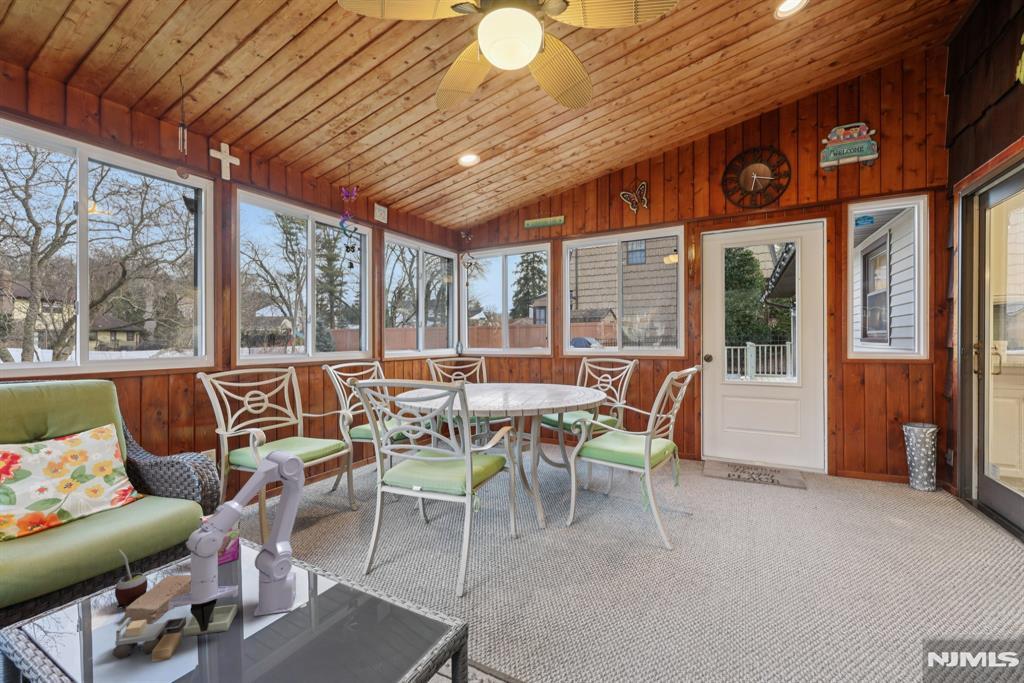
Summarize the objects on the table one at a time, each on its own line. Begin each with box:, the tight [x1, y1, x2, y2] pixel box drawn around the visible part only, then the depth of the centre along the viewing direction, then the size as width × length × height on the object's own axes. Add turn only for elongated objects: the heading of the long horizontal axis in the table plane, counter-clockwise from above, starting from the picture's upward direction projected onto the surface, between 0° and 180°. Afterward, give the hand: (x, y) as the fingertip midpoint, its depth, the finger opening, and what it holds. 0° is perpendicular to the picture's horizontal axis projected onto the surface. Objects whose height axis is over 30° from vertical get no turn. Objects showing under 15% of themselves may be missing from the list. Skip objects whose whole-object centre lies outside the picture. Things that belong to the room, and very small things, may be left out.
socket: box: [164, 616, 187, 634], centre depth 117 cm, size 4×4×2 cm
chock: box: [151, 631, 182, 663], centre depth 109 cm, size 4×6×3 cm, turn 15°
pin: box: [209, 609, 214, 624], centre depth 119 cm, size 3×3×7 cm
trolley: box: [112, 617, 167, 660], centre depth 110 cm, size 9×5×7 cm, turn 106°
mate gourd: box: [114, 549, 148, 612], centre depth 126 cm, size 8×8×15 cm
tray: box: [182, 603, 238, 638], centre depth 119 cm, size 10×8×2 cm
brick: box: [123, 574, 191, 625], centre depth 127 cm, size 17×8×5 cm, turn 2°
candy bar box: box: [198, 513, 241, 566], centre depth 150 cm, size 11×5×16 cm, turn 136°
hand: (204, 628), depth 113 cm, fingers closed
